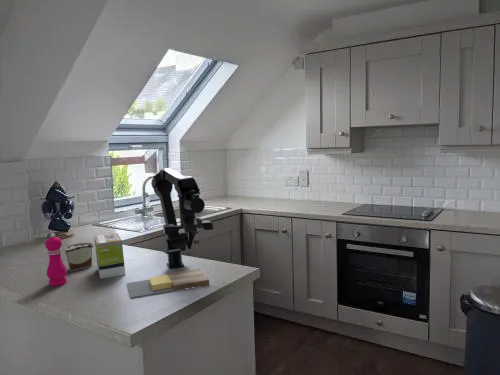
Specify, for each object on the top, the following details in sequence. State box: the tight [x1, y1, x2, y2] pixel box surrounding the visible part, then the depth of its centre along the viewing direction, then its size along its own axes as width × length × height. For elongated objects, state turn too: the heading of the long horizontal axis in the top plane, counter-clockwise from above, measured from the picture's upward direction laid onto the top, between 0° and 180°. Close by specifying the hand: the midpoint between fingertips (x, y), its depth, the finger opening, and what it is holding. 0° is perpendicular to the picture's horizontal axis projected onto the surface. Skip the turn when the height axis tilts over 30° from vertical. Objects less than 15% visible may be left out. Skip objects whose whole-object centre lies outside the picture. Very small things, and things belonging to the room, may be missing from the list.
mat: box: [126, 279, 175, 300], centre depth 159 cm, size 16×15×1 cm
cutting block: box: [166, 267, 210, 292], centre depth 164 cm, size 15×13×2 cm
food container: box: [63, 242, 94, 272], centre depth 189 cm, size 12×6×10 cm, turn 134°
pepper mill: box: [44, 232, 68, 287], centre depth 168 cm, size 7×7×20 cm
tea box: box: [93, 232, 126, 279], centre depth 180 cm, size 15×10×15 cm
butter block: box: [148, 274, 172, 290], centre depth 160 cm, size 9×7×2 cm
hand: (189, 248), depth 170 cm, fingers closed
